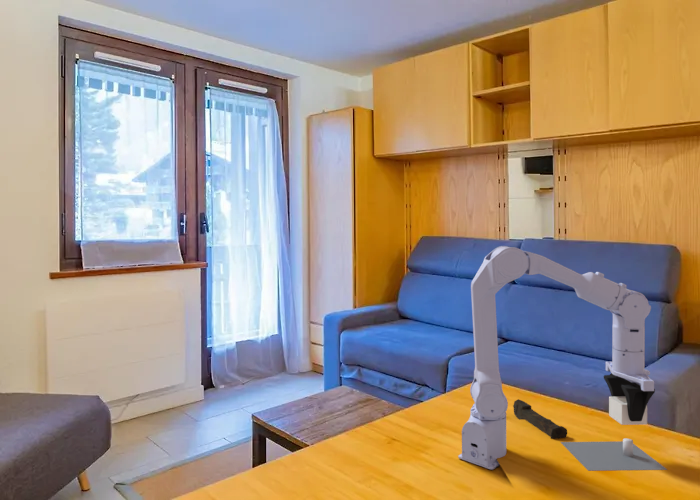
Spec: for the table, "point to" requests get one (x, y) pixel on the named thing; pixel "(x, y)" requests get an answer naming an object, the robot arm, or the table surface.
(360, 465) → the table surface
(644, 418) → the hollow square block
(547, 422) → the hand tool
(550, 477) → the table surface
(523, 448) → the table surface
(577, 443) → the plate
